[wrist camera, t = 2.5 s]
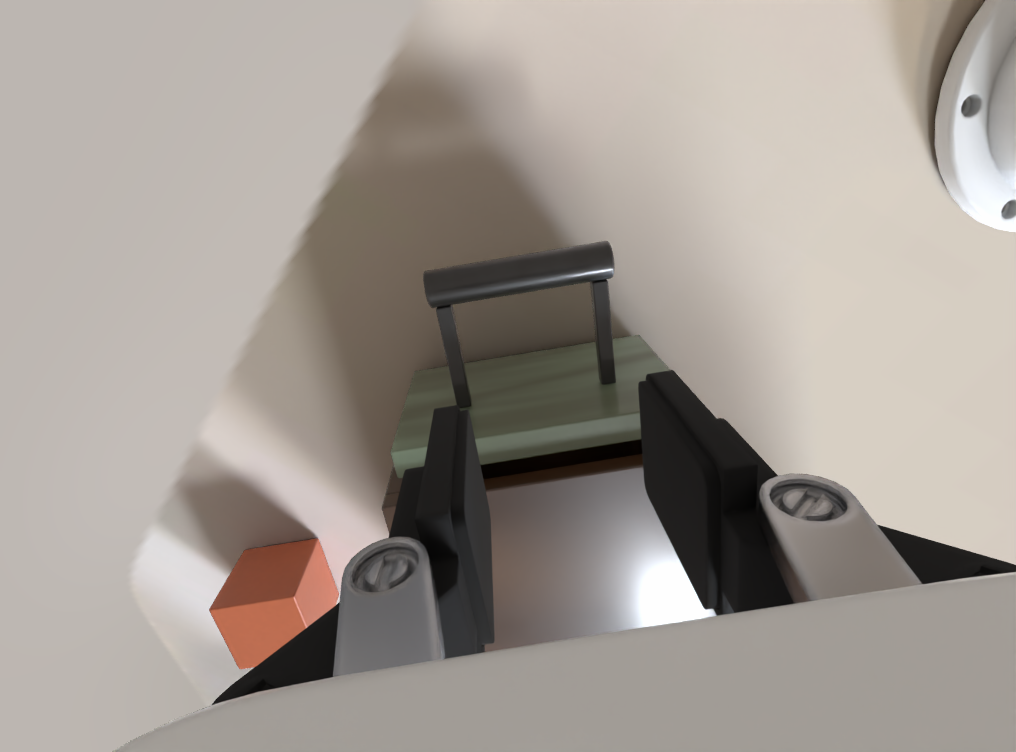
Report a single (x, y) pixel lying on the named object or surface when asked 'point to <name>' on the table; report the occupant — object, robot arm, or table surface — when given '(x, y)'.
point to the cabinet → (577, 554)
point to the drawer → (531, 374)
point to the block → (272, 598)
